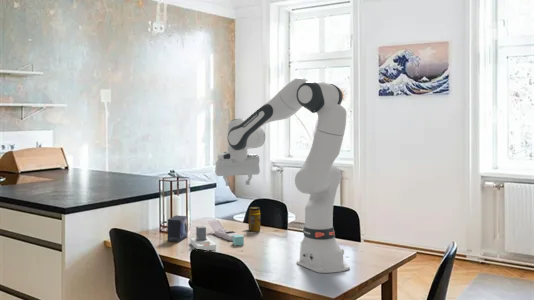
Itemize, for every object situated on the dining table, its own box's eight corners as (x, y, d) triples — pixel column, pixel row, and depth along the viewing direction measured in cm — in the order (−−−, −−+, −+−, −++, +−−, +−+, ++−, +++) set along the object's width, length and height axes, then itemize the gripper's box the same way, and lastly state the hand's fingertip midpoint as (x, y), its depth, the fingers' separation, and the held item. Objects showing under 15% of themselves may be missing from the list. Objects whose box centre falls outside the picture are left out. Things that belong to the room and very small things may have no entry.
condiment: (264, 231, 267) (264, 207, 266) (251, 233, 261) (251, 209, 260) (254, 228, 272) (254, 205, 271) (242, 231, 266) (241, 207, 266)
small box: (180, 242, 244) (180, 219, 243) (167, 241, 245) (166, 219, 244) (188, 237, 254) (187, 215, 253) (175, 236, 255) (175, 215, 255)
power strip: (216, 250, 229) (216, 243, 229) (198, 251, 227) (198, 245, 226) (207, 241, 244) (207, 236, 244) (190, 243, 242) (190, 237, 241)
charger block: (206, 245, 238) (205, 227, 237) (198, 246, 236) (198, 227, 236) (204, 243, 241) (204, 225, 240) (196, 244, 240) (196, 226, 239)
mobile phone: (217, 219, 267) (242, 228, 246) (218, 231, 268) (242, 240, 247) (207, 221, 264) (231, 230, 243) (207, 232, 265) (231, 242, 244)
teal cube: (241, 243, 242) (241, 234, 242) (243, 245, 238) (243, 236, 238) (232, 243, 241) (232, 235, 240) (235, 246, 237) (235, 237, 237)
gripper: (257, 153, 243) (257, 183, 244) (214, 154, 236) (214, 185, 237) (261, 154, 237) (261, 185, 238) (217, 155, 230) (217, 187, 231)
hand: (237, 185), depth 238 cm, fingers open, 8 cm apart
